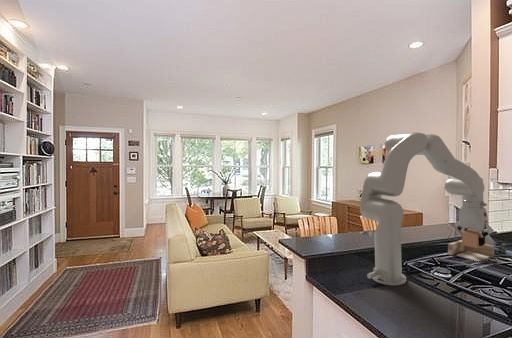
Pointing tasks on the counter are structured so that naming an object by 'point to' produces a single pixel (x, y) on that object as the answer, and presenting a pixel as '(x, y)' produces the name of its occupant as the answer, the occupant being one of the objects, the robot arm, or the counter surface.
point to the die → (489, 240)
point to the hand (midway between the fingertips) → (473, 243)
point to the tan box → (471, 251)
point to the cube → (470, 238)
